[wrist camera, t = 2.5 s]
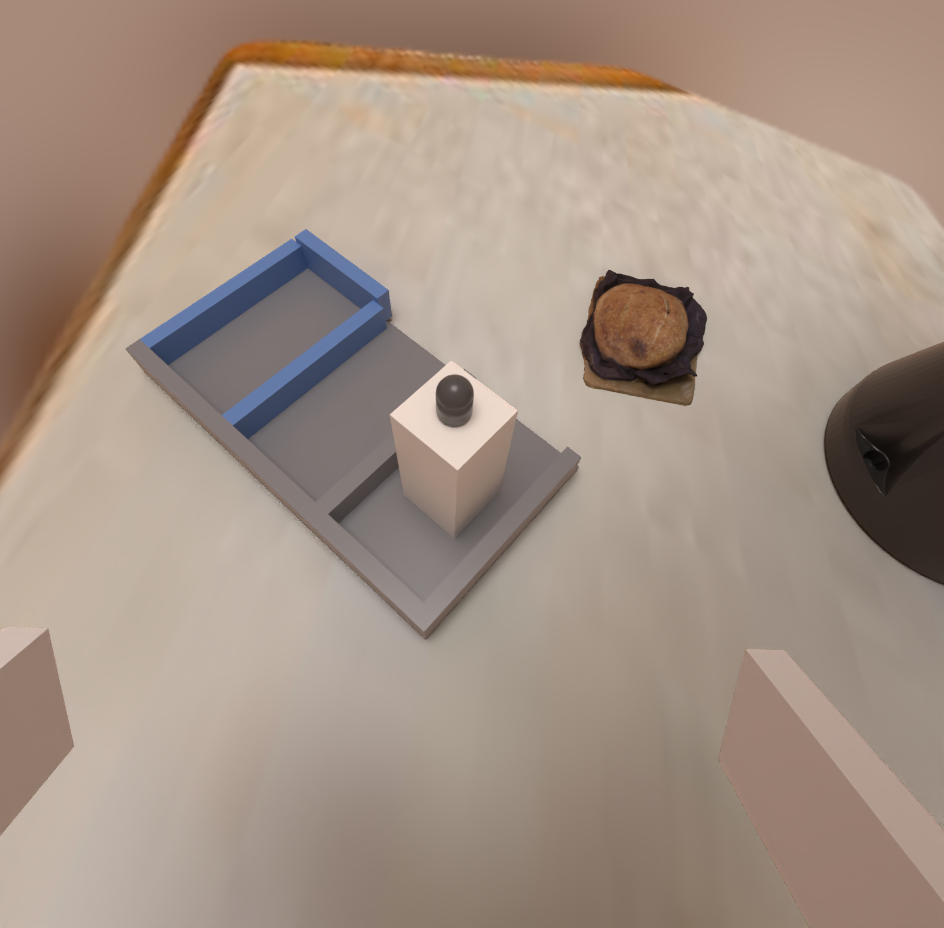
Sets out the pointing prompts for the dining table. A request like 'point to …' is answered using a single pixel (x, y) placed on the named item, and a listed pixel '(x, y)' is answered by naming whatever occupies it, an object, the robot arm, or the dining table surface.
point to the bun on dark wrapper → (642, 339)
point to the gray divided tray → (338, 421)
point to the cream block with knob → (452, 447)
